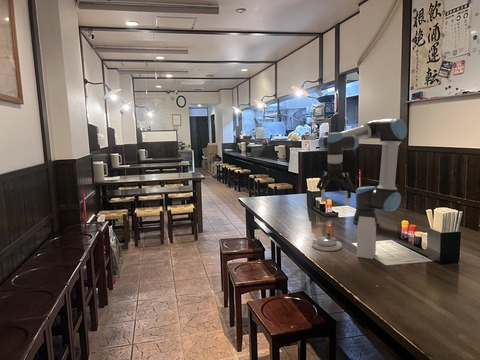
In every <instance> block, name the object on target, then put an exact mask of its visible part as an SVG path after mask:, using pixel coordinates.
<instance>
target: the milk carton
mask: <svg viewBox="0 0 480 360" xmlns="http://www.w3.org/2000/svg"><path fill="white" fill-rule="evenodd" d="M356 225H357V226H356V229H357V230H356V257H357V258H365V259H370V260H373V259H374V257H375V256H376V253H377V251H376V249H377V225H376V222H375V218H371V217H361V216H359V221H358V224H356Z"/></svg>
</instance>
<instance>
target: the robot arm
mask: <svg viewBox="0 0 480 360" xmlns="http://www.w3.org/2000/svg"><path fill="white" fill-rule="evenodd" d="M407 134H408V127H407V124H406V122H405V121H404V120H403V119H401V118H384V119H374V120H371V121H368V122H363V123H362V124H360V125H359V126H357V127H354V128H351V129H346V130H344V131H340V132H329V133H327V135H322V136H320V137H319V138H318V143H317V144H318V147H319V148H320V149H321V150H327V171H326V170H324V171H321V176H320V179H319V181H318V182H317V185H316V189H317V190H319V196H320V199H321V201H320V202H321V203H324V202H326V189H325V188H326V186H327V185H328V184H329V183H330V181H333V182H335V181H336V182H339V183H340V184H341V185H342V187H343V188H344V189H345V205H346V206H347V205H349V204H350V199H351V198H352V192H354V191H355V212H354V216H353V218H352V223H353V224H354V225H358V221H359V216H361V217H371V218H375V222H376V226H377V225H378V224H379V218H378V215H377V211H376V210H381V211H384V212H394V211H396V210H397V209H398V208H399V206H400V204H401V201H402V197H401V194H400V192H398V188H397V187H396V176H397V164H398V155H399V154H398V153H399V145H400V144H402V140H403V139H405V138H406V136H407ZM369 139H371V140H372V139H374V140H375V139H376V140H377V139H378V140H379V142H380V143H381V157H380V158H381V160H380V172H379V182H378V183H379V184H378V185H377V186H374V185H373V186H371V185H370V186H369V185H368V186H360V187H357V188H356V190H355V187H354V185H353V182H352V180H351V178H350V172H348V171H347V172H343V167H344V166H343V159H344V157H343V156H344V155H343V154H344V151H350V150H351V151H352V150H356V149H357V148H358V147H359V145H360V140H369ZM326 176H327V177H326ZM343 177H344V178H343ZM325 178H326V179H325ZM344 179H345V180H344Z"/></svg>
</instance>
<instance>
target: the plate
mask: <svg viewBox="0 0 480 360" xmlns="http://www.w3.org/2000/svg"><path fill="white" fill-rule="evenodd" d="M317 239H318V238H313V239H312V244H311V247H312V248H313V249H315V250H318V251H323V252H334V251H339V250H341V249H342V247H343V243H342V242H340V241H338V240H337V245H335V246H330V247H326V246H321V245H318V244H317Z"/></svg>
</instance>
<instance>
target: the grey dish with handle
mask: <svg viewBox="0 0 480 360" xmlns="http://www.w3.org/2000/svg"><path fill="white" fill-rule="evenodd" d="M332 236H333V225H332V223H327V224H326V235H325V236H319V237H317V238H316V239H317V244H318V245H321V246H326V247H330V246H335V245H337V241H338V239H337V238H335V237H332Z"/></svg>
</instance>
